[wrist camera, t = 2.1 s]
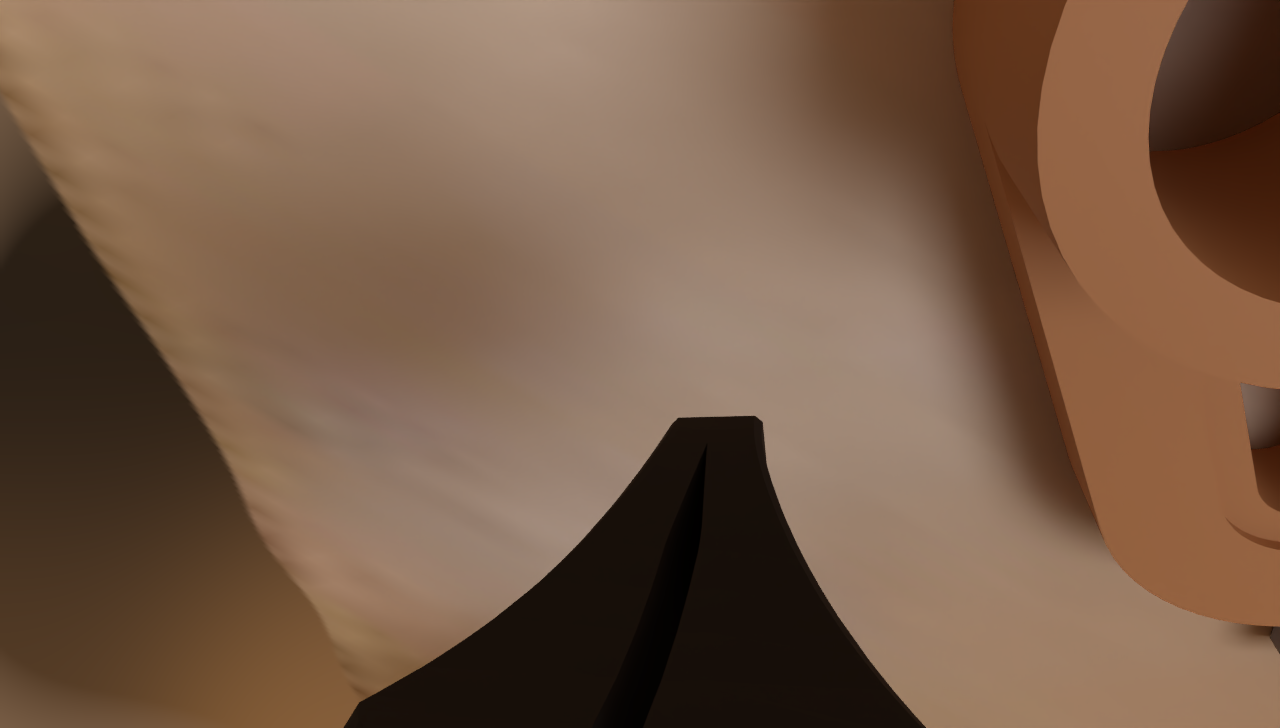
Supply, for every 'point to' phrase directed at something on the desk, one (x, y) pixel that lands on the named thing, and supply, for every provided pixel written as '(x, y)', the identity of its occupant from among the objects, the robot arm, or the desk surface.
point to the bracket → (1138, 288)
